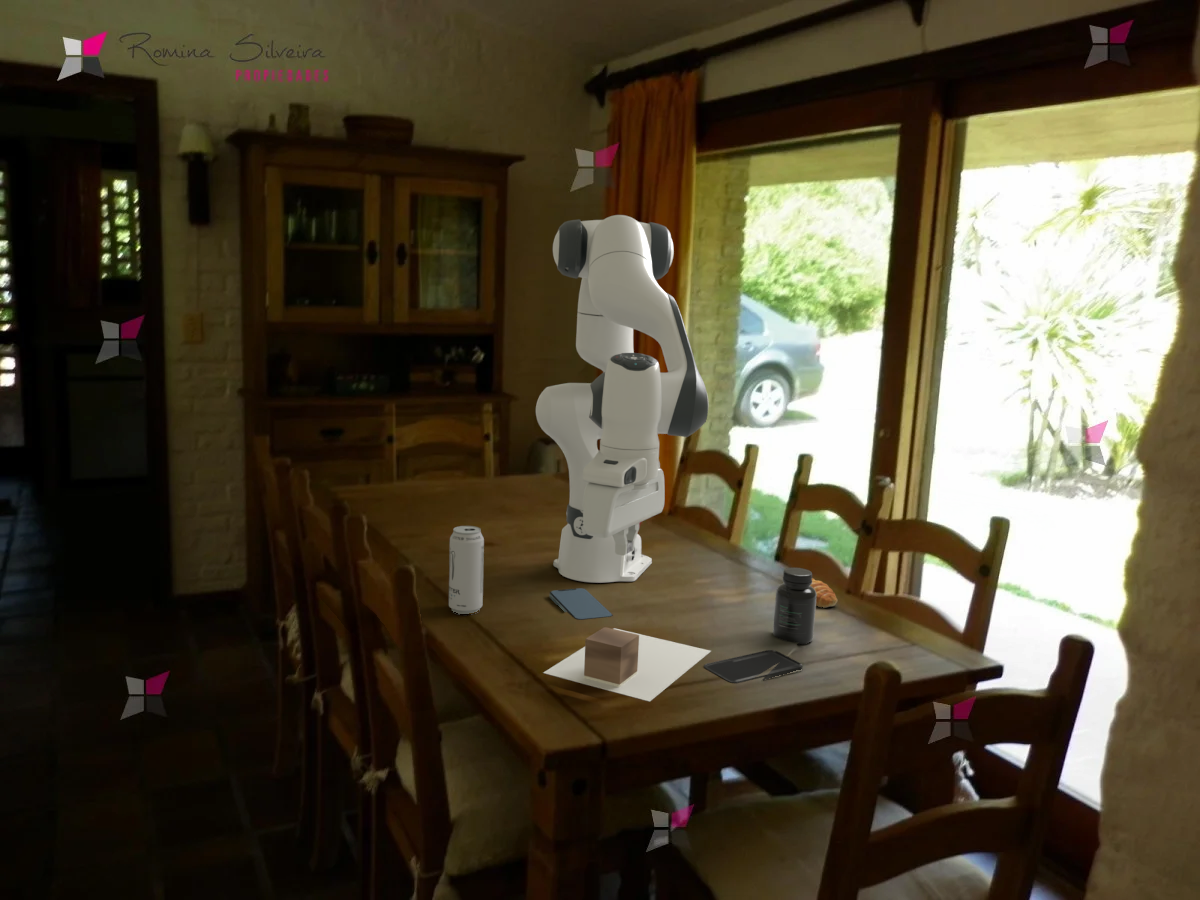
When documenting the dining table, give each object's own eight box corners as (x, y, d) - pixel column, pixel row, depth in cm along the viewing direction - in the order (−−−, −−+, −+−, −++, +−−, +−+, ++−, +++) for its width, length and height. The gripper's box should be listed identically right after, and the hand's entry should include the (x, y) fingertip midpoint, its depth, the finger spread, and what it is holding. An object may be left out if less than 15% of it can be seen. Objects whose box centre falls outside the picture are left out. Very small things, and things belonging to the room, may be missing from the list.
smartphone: (576, 619, 172) (547, 590, 186) (575, 628, 172) (547, 598, 186) (615, 615, 175) (585, 587, 188) (615, 624, 175) (584, 595, 189)
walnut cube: (585, 638, 147) (583, 677, 148) (621, 647, 144) (619, 687, 145) (604, 627, 152) (602, 664, 153) (639, 635, 149) (637, 673, 150)
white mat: (613, 631, 169) (614, 628, 169) (710, 654, 161) (711, 650, 161) (542, 676, 149) (543, 672, 149) (649, 705, 141) (649, 701, 141)
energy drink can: (445, 606, 178) (446, 525, 176) (477, 603, 181) (479, 524, 178) (452, 617, 173) (454, 534, 170) (486, 614, 175) (488, 532, 172)
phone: (805, 665, 156) (732, 683, 148) (805, 672, 156) (732, 690, 148) (772, 648, 163) (700, 664, 155) (771, 655, 163) (700, 671, 155)
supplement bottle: (784, 628, 174) (789, 563, 172) (819, 638, 170) (825, 571, 168) (765, 638, 169) (770, 571, 167) (800, 649, 165) (806, 580, 163)
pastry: (845, 608, 187) (847, 588, 187) (817, 612, 185) (818, 592, 184) (815, 592, 196) (817, 574, 195) (787, 596, 193) (789, 577, 192)
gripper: (640, 450, 157) (636, 534, 160) (576, 471, 139) (572, 565, 142) (676, 456, 154) (671, 541, 157) (615, 478, 136) (611, 573, 139)
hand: (624, 552), depth 149 cm, fingers closed
